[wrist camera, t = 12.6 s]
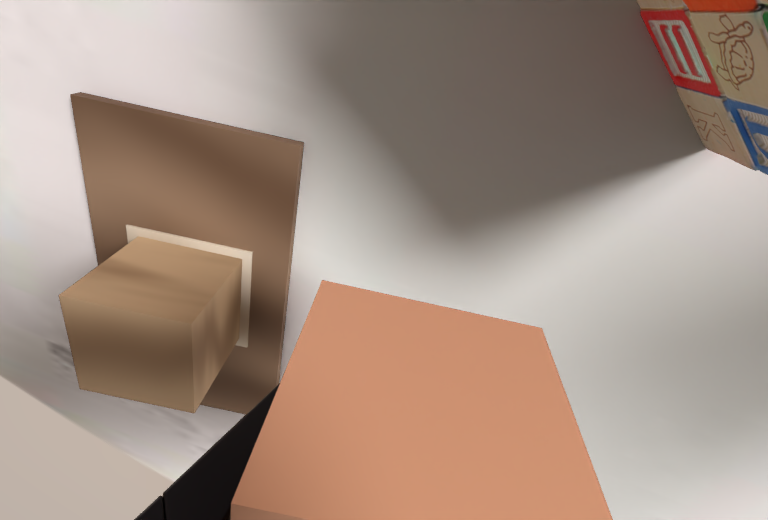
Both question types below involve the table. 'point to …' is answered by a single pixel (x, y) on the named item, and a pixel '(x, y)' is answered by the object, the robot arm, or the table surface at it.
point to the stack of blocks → (718, 70)
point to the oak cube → (154, 322)
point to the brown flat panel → (200, 214)
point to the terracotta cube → (417, 421)
